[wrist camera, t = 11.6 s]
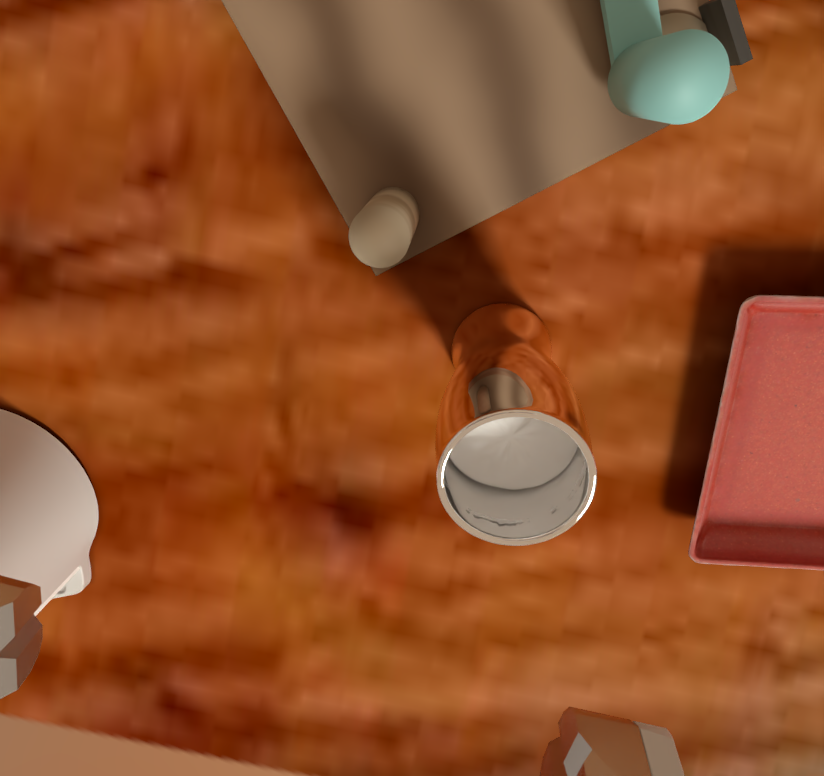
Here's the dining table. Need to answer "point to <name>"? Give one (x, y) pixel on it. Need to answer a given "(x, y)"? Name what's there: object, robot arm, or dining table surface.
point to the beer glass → (511, 433)
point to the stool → (450, 102)
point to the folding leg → (661, 65)
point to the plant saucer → (768, 442)
